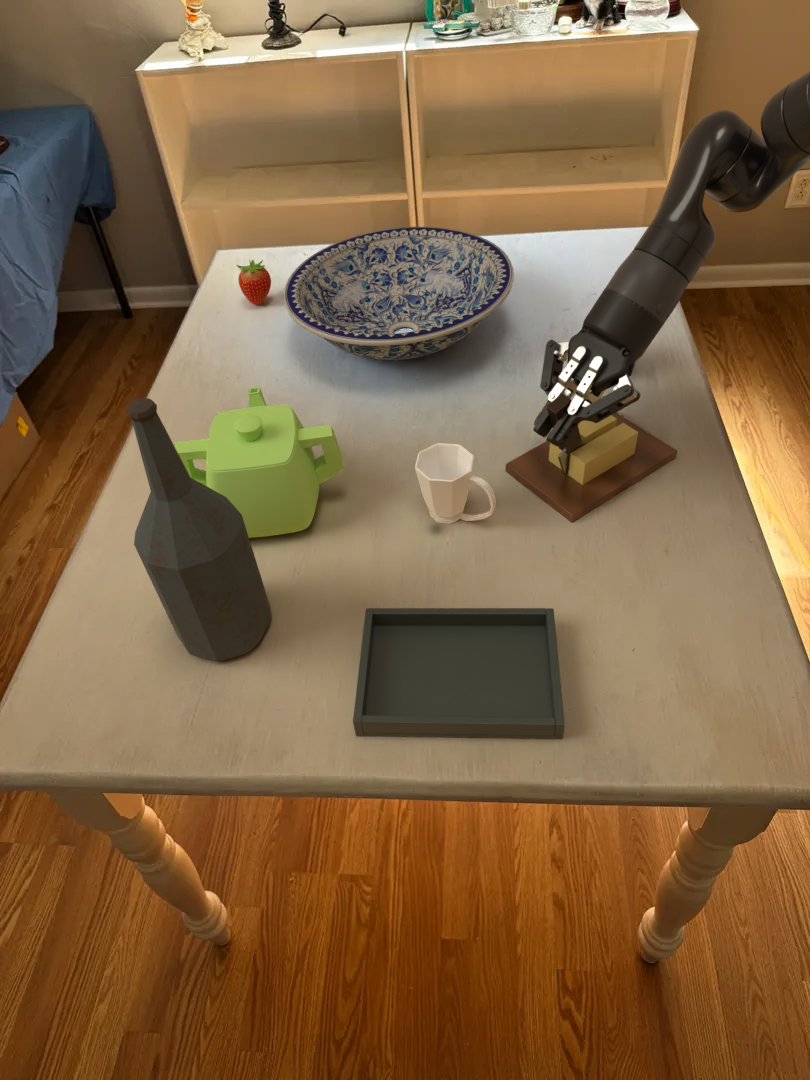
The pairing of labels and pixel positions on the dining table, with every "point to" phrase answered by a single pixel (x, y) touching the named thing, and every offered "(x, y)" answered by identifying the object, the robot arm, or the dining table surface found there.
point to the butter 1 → (585, 435)
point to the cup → (449, 482)
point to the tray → (459, 673)
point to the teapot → (265, 464)
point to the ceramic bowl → (399, 290)
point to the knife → (575, 439)
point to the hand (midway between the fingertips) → (545, 438)
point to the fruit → (254, 282)
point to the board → (584, 498)
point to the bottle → (196, 551)
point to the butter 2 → (602, 453)
